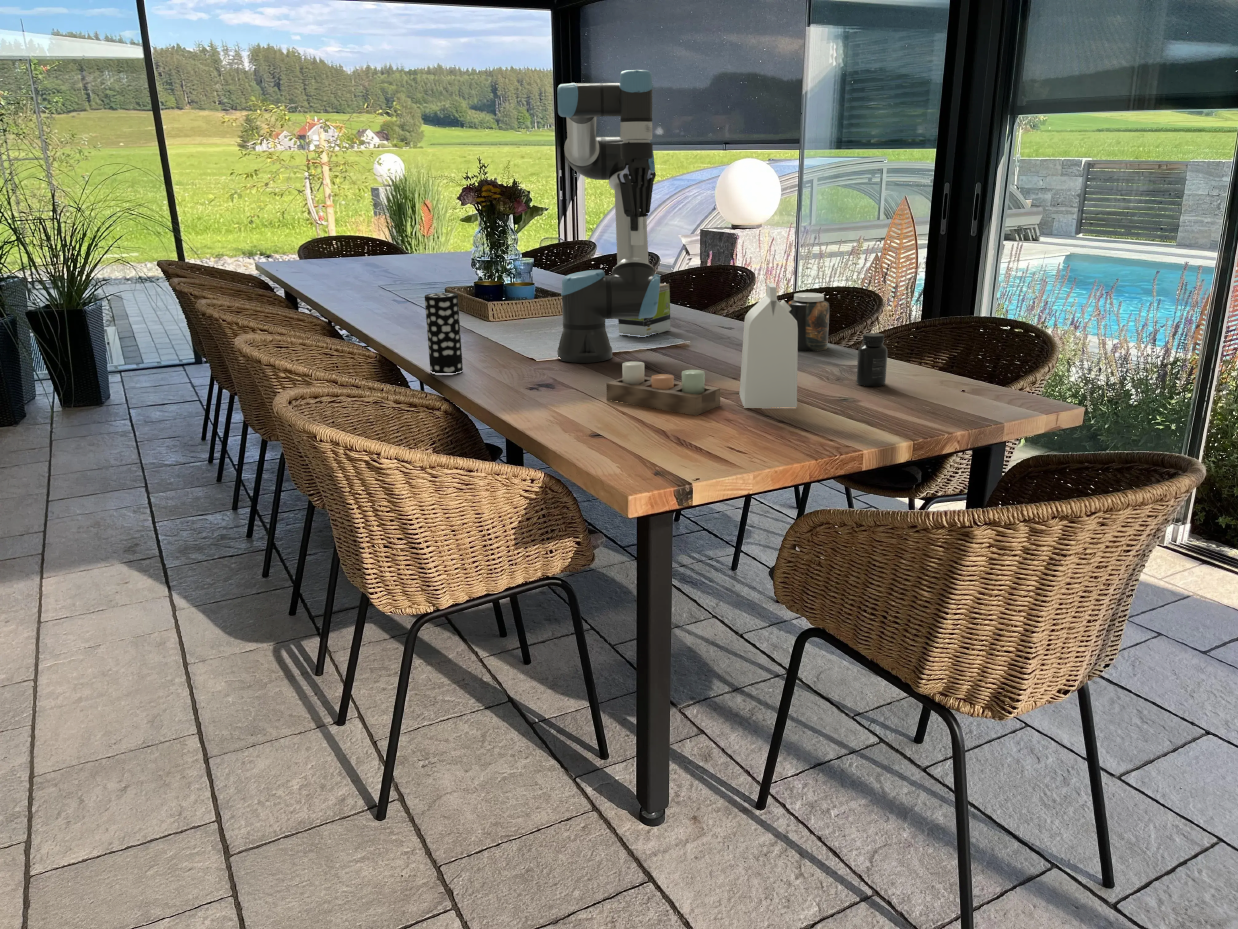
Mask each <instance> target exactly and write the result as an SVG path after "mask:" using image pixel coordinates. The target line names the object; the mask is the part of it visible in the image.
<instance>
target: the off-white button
mask: <svg viewBox="0 0 1238 929" xmlns="http://www.w3.org/2000/svg"><path fill="white" fill-rule="evenodd" d="M621 365H622V372H621V373H622V378H623V383H626V384H632V385H639V384H641V383H644V377H645V363H644V362H642V361H626V362H623V363H622V364H621Z"/></svg>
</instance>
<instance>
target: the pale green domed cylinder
mask: <svg viewBox="0 0 1238 929" xmlns="http://www.w3.org/2000/svg"><path fill="white" fill-rule="evenodd" d="M705 374H706V373H705V371H704V370H700V369H687V370H682V371H681V382H682V392H683V393H689V394H696V395H698V394H701V393H703V392H704V391H705V386H706V385H705V384H706V383H705V380H706V376H705Z"/></svg>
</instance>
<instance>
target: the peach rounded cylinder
mask: <svg viewBox="0 0 1238 929" xmlns="http://www.w3.org/2000/svg"><path fill="white" fill-rule="evenodd" d="M651 381H652V388H658V389H664V390H667V389H670V388H673V387H674V381H675V376H674V375H672V374H666V373H659V374H652V375H651Z"/></svg>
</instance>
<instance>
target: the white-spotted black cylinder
mask: <svg viewBox="0 0 1238 929" xmlns="http://www.w3.org/2000/svg"><path fill="white" fill-rule="evenodd" d="M424 307H425V309H424V310H425V319H426V332H427V333H426V334H427V343H428V344H427V345H428V358H429V369H430V371H432V372H435V373H456V372H460V371H462V370H463V371H464V368H463V353H462V352H463V350H462V338H461V337H462V336H461V324H460V323H461V322H460V308H459V295H458V293H454V292H434V293H428V294H425V295H424Z"/></svg>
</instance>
